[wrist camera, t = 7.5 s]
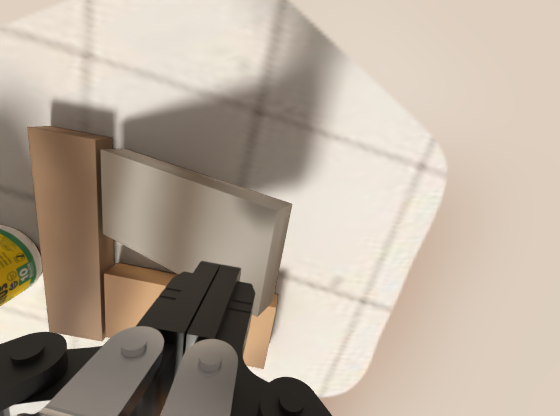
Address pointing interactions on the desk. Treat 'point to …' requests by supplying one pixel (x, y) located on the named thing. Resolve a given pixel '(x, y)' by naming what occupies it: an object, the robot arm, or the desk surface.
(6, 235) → the supplement bottle
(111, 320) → the chestnut plank
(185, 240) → the grey ash plank
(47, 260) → the walnut panel
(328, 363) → the desk surface
